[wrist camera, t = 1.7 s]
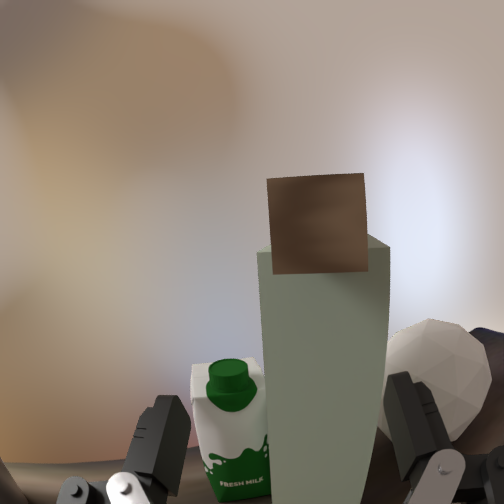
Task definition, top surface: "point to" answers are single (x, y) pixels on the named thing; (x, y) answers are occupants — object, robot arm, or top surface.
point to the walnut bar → (318, 224)
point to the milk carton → (232, 427)
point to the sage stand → (323, 376)
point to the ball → (441, 370)
